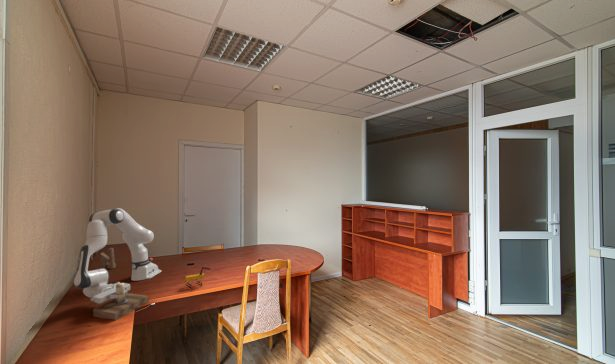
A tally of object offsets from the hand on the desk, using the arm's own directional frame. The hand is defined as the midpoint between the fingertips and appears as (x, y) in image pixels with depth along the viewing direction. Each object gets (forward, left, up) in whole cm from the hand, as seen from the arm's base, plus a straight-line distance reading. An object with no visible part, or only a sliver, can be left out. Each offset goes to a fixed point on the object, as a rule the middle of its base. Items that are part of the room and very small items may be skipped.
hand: (121, 294), depth 170 cm
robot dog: (-39, +24, -10) cm, 47 cm away
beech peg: (0, -1, -8) cm, 8 cm away
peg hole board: (0, -1, -9) cm, 9 cm away
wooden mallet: (-52, -84, -10) cm, 99 cm away
